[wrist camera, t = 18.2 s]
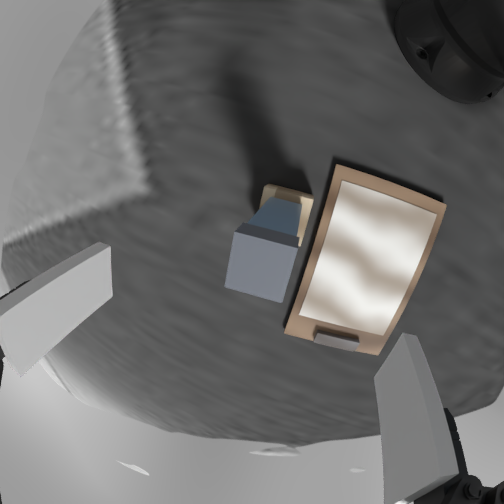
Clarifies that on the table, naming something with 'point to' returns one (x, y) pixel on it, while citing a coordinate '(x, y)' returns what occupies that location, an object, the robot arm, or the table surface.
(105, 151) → the table surface
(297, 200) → the stand
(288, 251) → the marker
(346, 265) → the clipboard
